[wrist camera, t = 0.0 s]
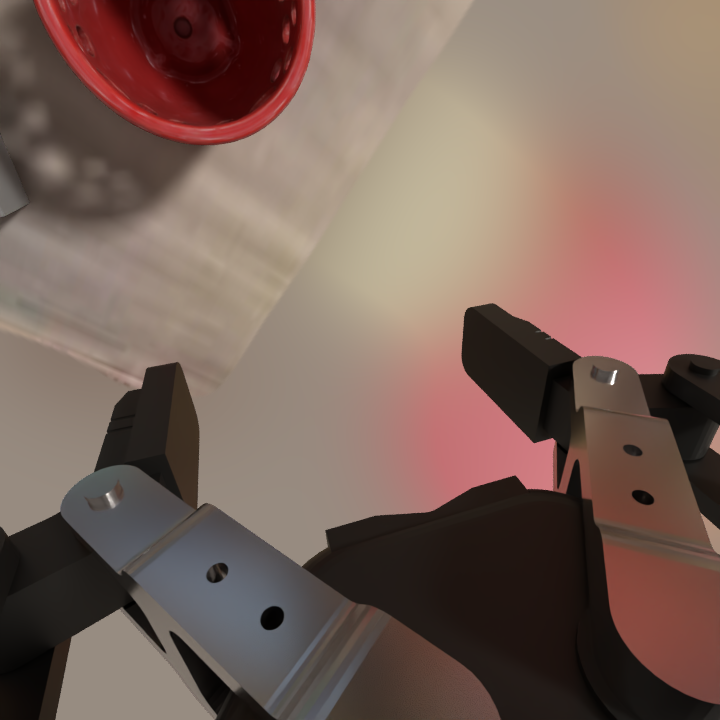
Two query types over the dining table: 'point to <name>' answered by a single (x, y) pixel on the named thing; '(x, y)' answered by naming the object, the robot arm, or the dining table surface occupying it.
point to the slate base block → (9, 184)
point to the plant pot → (187, 60)
